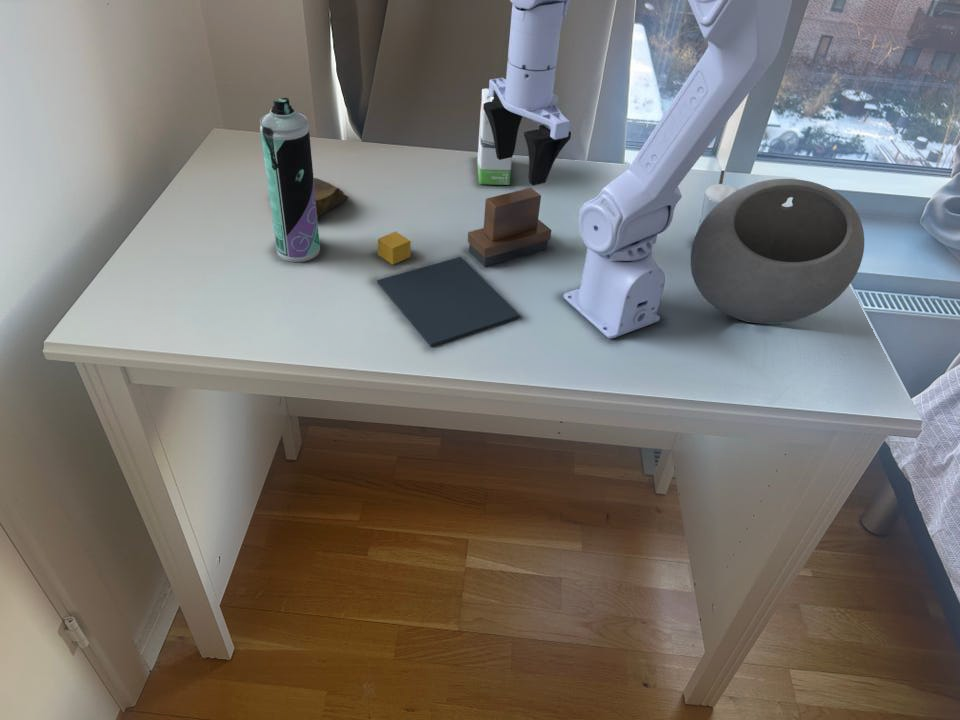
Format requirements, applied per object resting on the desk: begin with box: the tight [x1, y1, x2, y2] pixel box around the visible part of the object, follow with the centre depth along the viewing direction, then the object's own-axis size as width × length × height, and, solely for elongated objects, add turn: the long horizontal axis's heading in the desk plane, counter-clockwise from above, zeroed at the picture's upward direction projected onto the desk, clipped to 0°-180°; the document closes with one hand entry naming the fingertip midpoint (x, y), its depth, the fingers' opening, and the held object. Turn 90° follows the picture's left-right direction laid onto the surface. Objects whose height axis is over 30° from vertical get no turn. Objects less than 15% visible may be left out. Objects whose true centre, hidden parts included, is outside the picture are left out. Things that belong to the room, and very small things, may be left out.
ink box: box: [476, 88, 513, 186], centre depth 113 cm, size 9×5×12 cm, turn 2°
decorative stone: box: [313, 177, 349, 218], centre depth 105 cm, size 10×9×4 cm
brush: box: [467, 187, 552, 268], centre depth 97 cm, size 10×4×8 cm, turn 121°
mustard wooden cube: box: [377, 231, 411, 266], centre depth 96 cm, size 3×3×2 cm
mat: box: [376, 256, 520, 348], centre depth 90 cm, size 14×12×1 cm
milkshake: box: [697, 170, 739, 230], centre depth 101 cm, size 4×5×10 cm
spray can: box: [259, 97, 321, 263], centre depth 90 cm, size 6×6×20 cm
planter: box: [690, 178, 865, 325], centre depth 85 cm, size 18×7×19 cm, turn 78°
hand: (520, 170), depth 95 cm, fingers open, 7 cm apart
